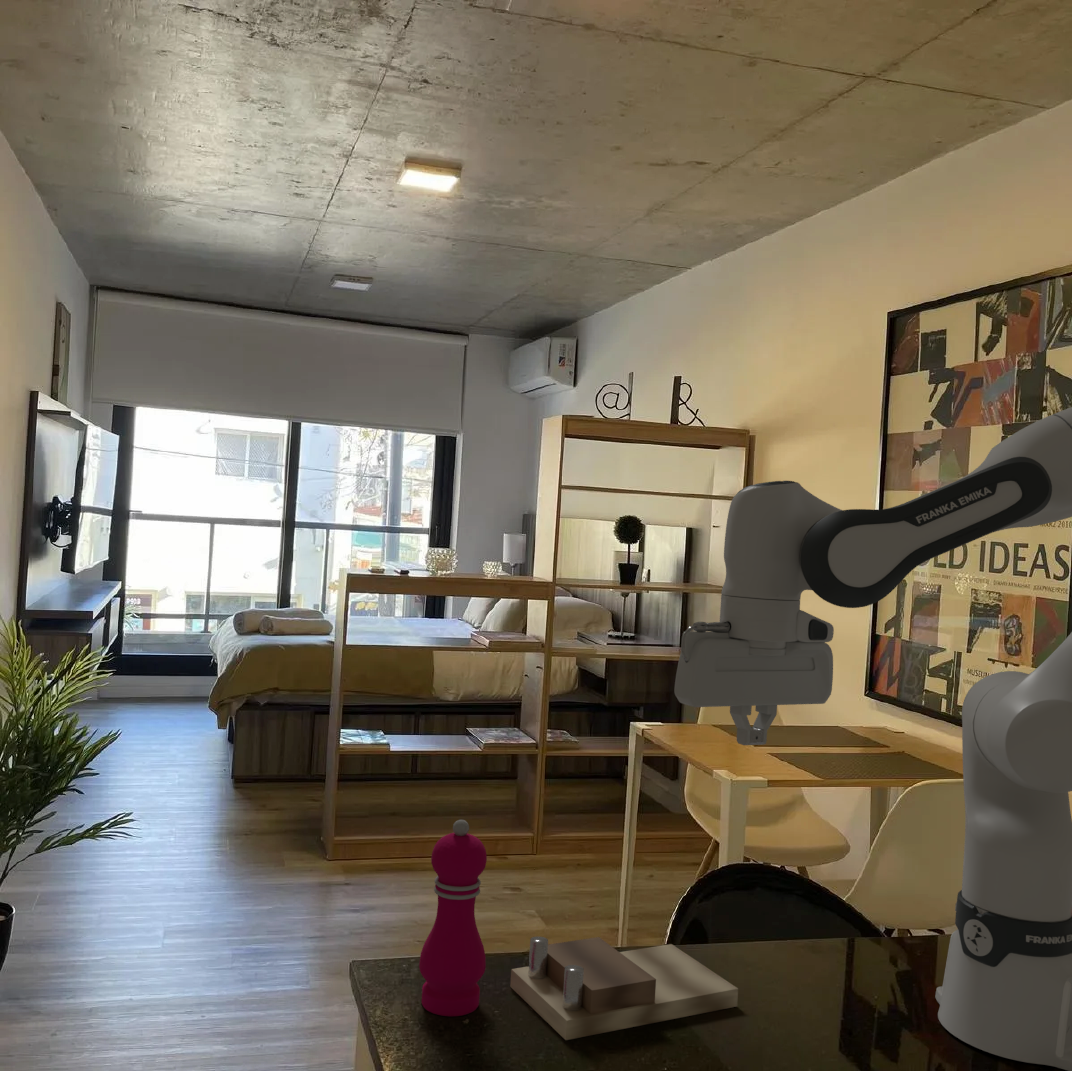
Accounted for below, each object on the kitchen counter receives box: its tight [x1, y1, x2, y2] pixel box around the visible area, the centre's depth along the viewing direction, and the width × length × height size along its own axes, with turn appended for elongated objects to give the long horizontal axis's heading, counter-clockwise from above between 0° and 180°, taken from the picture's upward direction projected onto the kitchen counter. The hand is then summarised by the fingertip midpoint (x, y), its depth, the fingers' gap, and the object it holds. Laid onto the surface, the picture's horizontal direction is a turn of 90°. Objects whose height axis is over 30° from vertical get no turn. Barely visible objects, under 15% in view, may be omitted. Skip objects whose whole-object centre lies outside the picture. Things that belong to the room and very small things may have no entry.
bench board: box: [509, 936, 739, 1041], centre depth 115 cm, size 22×13×6 cm, turn 117°
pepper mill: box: [418, 819, 488, 1017], centre depth 111 cm, size 7×7×20 cm
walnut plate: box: [546, 936, 656, 1014], centre depth 113 cm, size 8×12×2 cm, turn 27°
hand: (751, 744), depth 116 cm, fingers closed
